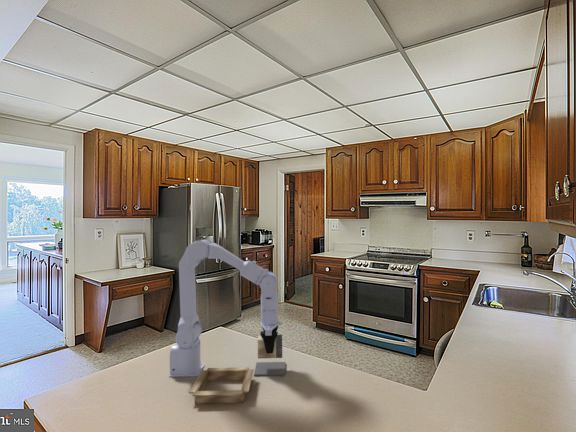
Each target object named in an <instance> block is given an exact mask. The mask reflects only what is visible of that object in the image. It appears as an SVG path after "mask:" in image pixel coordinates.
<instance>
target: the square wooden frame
mask: <svg viewBox="0 0 576 432" xmlns="http://www.w3.org/2000/svg"><path fill="white" fill-rule="evenodd" d="M254 371H255V369H253V368H252V369H251V368H250V367H249V366H247V367H245V366H244V367H243V366H242V367H241V366H240V367H237V366H235V367H207V369H202V371H201V372H200V374H199V376H197V378H196V379H195V382H194V383H193V385H192V386H191V389H190V390H189V391H188V393H189V394H192V397H194V404H225V403H226V404H228V403H230V404H232V403H233V404H234V403H237V404H238V403H244V401H245V398H246V397H245V396H246V393H249V391H250V388H251V383H252V379H253V376H254ZM211 381H213V382H214V381H215V382H216V381H243V382H242V386H241V388H240V389H238V390H236V389H235V390H233V389H232V390H230V389H229V390H205V388H206V386H207V384H208V383H209V382H211Z"/></svg>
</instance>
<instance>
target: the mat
mask: <svg viewBox="0 0 576 432" xmlns="http://www.w3.org/2000/svg"><path fill="white" fill-rule="evenodd" d="M253 376H254V377H279V376H286V361H266V362H265V361H263V362H262V361H260V362H259V361H257V362H256V363H255V369H254V371H253Z"/></svg>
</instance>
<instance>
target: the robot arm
mask: <svg viewBox="0 0 576 432" xmlns="http://www.w3.org/2000/svg"><path fill="white" fill-rule="evenodd" d="M205 259H209V260H210V259H214V260H215V259H216V260H217V259H218V260H221V261H223V262H224V263H226V264H227V265H230V266H232V267H233V268H235V269H237V270H238V271H239V274H240V276H241V277H243V278H245V279H246V280H248V281H250V282H252V283H253V284H255V285H256V286H257V285H258V286H259V289H260V290H261V291H260V293H261V294H260V327H261V328H262V330H260V335H261V337H262V339H263V341H264V345H265V350H266V353H267V354H271V353H273V350H274V343H275V339H276V337H277V335H279V332H278V329H279V326H282V321H281V320H279V303H278V302H279V299H278V298H279V297H278V289H277V288H278V284H279V283H278V277H277V274H275V273H274V272H273V271H269V269H267V268H264V267H261V266H260V265H258V264H257V261H255V260H252V261H251V260H249V259H248V260H246V261H244V260H243V259H241V258H240V257H238V256H236V255H235V254H234V253H232V252H231V251H229V250H228V249H225V248H224V247H223V246H221V245H220V244H218V243H215V242H212V241H211V240H209V239H200V240H195V241H193V242H191V243H190V244H189V245H188V246H186V248H185V251H184V253H183V255H182V257H181V258H180V260H179V262H178V278H179V279H178V281H179V282H178V283H179V285H178V286H179V309H180V318H179V321H178V324H177V332H176V334H175V337H174V339H175V343H176V344H173V345H172V346H171V349H170V353H169V374H168V376H169V378H171V377H172V378H173V377H175V378H176V377H177V378H179V377H180V378H181V377H182V378H183V377H185V378H186V377H189V378H190V377H198V376H199V374H200V373H201V371H202V370H204V369H203V368H205V364H204V363H203V364H201V361H202V360H201V358H202V357H201V340H200V336H201V334H202V332H203V327H202V325H201V322H200V317H199V315H198V314H197V293H196V292H197V290H196V267H197V266H199V264H200V263H201V262H202V261H204V260H205Z"/></svg>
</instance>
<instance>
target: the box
mask: <svg viewBox="0 0 576 432" xmlns="http://www.w3.org/2000/svg"><path fill="white" fill-rule="evenodd" d="M282 358H283V334H277V337H276V339H275V343H274V350H273V353H271V354H267V353H266V350H265V345H264V341H263V339H262V337H261V334H260V335H258V337H257V359H259V360H260V359H282Z"/></svg>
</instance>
